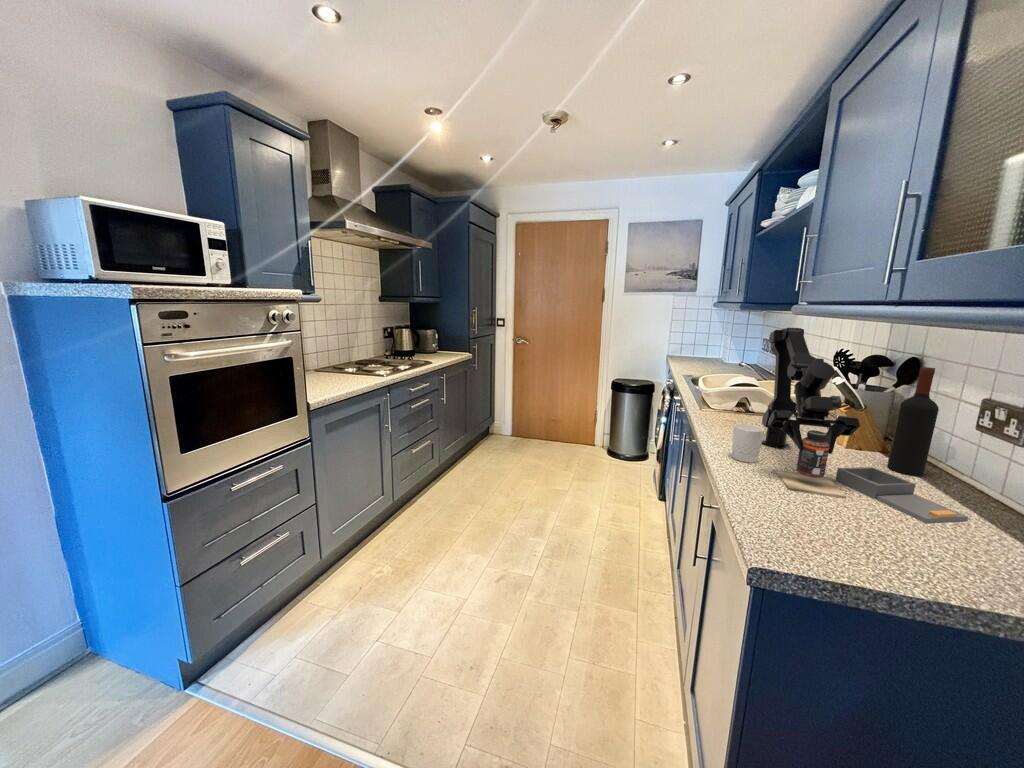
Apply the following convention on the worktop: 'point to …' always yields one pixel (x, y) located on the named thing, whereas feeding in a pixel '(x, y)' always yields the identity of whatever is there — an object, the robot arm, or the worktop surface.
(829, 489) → the board
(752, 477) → the worktop surface
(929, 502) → the case
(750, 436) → the white cup
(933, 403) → the wine bottle
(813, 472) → the supplement bottle
